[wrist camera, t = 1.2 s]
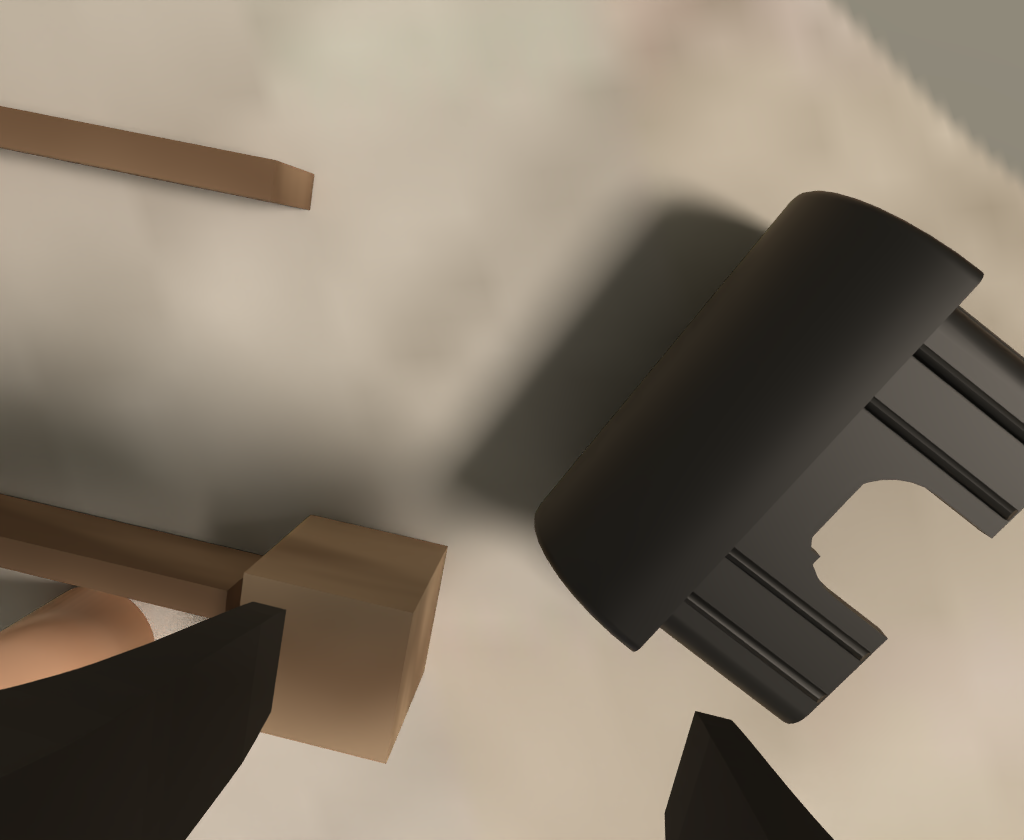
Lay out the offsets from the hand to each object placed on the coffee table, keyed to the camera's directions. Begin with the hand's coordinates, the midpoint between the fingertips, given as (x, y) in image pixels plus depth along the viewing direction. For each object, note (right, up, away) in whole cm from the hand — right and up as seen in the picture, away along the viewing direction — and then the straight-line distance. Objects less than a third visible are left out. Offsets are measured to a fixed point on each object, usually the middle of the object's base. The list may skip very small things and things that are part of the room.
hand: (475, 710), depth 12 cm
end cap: (+7, +5, +9) cm, 12 cm away
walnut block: (-4, -1, +11) cm, 11 cm away
